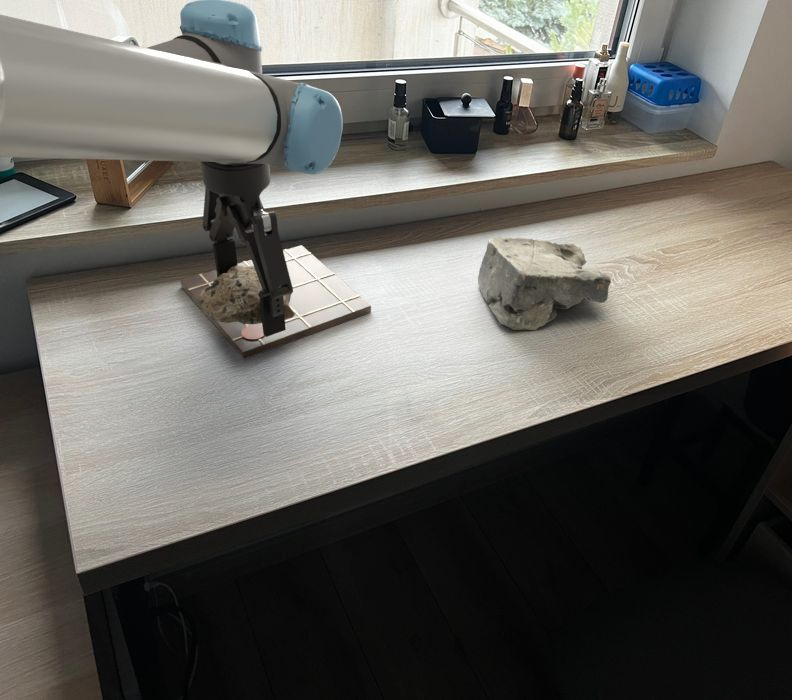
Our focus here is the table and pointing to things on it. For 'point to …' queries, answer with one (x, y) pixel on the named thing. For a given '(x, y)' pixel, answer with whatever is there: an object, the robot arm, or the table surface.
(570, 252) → the grey broken concrete chunk
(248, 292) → the rock
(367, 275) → the table surface
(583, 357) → the table surface
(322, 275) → the grid board
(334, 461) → the table surface
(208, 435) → the table surface
